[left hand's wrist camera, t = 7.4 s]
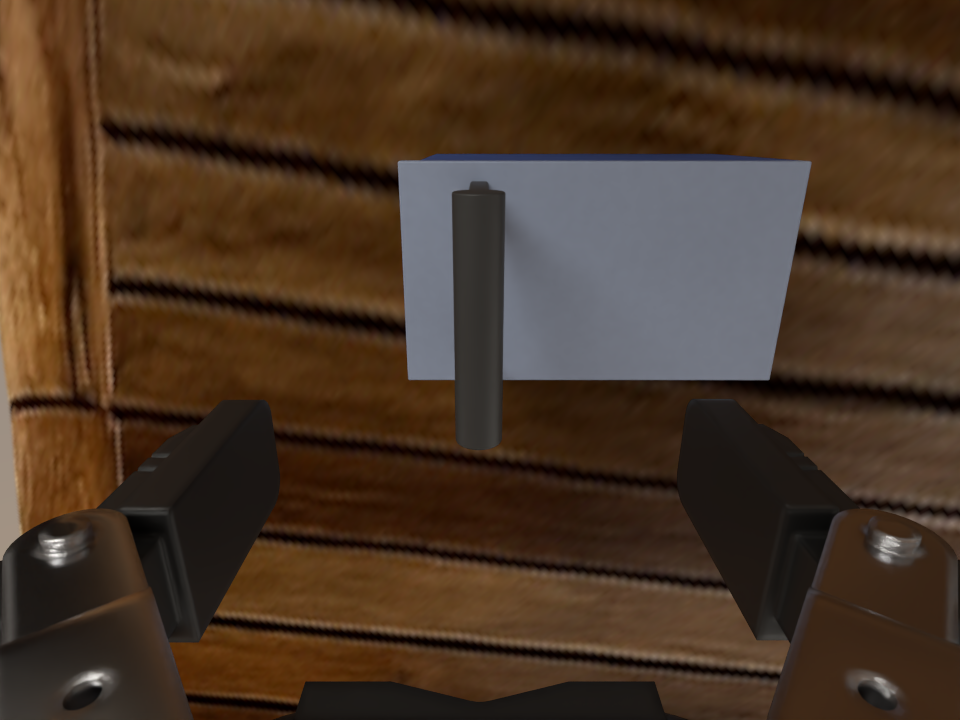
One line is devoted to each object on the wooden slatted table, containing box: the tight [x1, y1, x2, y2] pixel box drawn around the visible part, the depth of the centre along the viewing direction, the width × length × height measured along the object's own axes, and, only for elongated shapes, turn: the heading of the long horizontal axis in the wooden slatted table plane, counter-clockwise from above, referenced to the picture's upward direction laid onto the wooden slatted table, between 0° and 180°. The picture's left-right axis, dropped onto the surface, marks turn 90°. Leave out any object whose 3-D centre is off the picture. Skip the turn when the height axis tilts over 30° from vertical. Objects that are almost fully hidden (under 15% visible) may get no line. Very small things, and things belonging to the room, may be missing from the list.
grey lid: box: [398, 161, 811, 450], centre depth 21 cm, size 16×9×8 cm, turn 90°
